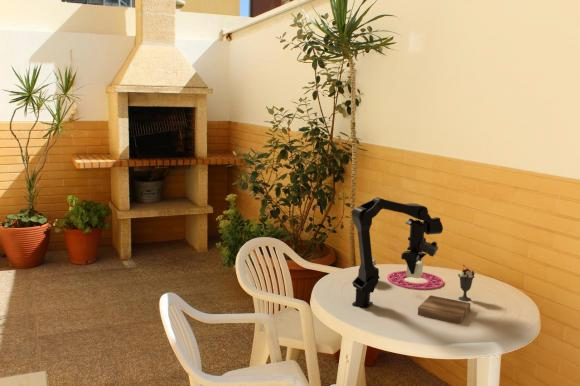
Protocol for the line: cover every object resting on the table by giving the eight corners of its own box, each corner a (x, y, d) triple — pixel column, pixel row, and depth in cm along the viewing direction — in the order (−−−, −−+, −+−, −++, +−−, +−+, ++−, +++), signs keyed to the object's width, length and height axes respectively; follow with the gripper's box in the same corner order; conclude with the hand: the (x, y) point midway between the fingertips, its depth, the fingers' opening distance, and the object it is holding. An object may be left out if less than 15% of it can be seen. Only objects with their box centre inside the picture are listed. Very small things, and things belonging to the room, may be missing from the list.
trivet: (395, 290, 245) (395, 288, 245) (381, 272, 270) (381, 270, 270) (451, 290, 247) (451, 288, 247) (433, 272, 272) (433, 270, 271)
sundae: (454, 300, 234) (457, 265, 232) (458, 295, 240) (460, 261, 238) (471, 303, 231) (474, 267, 229) (474, 298, 237) (477, 263, 235)
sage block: (418, 278, 229) (419, 264, 228) (406, 276, 231) (407, 262, 230) (422, 275, 233) (423, 261, 232) (410, 273, 236) (411, 259, 235)
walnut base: (459, 323, 209) (460, 316, 209) (417, 314, 217) (418, 307, 217) (470, 310, 223) (470, 303, 222) (429, 302, 231) (430, 295, 230)
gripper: (429, 242, 218) (427, 281, 220) (442, 233, 234) (440, 270, 236) (402, 238, 223) (399, 276, 226) (416, 229, 239) (414, 265, 242)
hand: (414, 272), depth 232 cm, fingers closed on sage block, 5 cm apart
